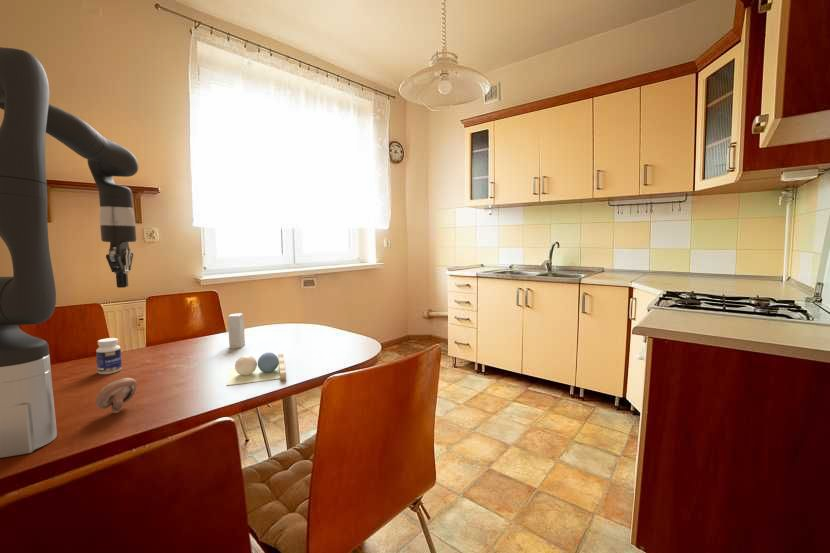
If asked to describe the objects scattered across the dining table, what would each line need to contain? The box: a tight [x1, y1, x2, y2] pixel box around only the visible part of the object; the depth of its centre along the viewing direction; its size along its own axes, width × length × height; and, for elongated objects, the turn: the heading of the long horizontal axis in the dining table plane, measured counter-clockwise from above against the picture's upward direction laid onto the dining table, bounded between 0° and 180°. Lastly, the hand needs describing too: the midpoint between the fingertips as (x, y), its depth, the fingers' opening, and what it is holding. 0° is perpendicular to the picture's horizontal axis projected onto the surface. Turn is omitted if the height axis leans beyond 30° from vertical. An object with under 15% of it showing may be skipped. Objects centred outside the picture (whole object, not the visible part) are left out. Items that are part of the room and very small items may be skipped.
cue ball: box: [234, 354, 258, 376], centre depth 109 cm, size 6×6×6 cm
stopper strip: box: [277, 353, 287, 382], centre depth 113 cm, size 18×2×2 cm, turn 22°
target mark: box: [226, 364, 280, 387], centre depth 110 cm, size 14×14×1 cm
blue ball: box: [257, 352, 279, 373], centre depth 112 cm, size 6×6×6 cm
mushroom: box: [95, 377, 138, 414], centre depth 85 cm, size 8×6×8 cm
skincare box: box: [227, 312, 246, 349], centre depth 139 cm, size 6×4×12 cm
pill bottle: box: [95, 337, 123, 375], centre depth 111 cm, size 6×6×10 cm
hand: (122, 287), depth 102 cm, fingers closed
